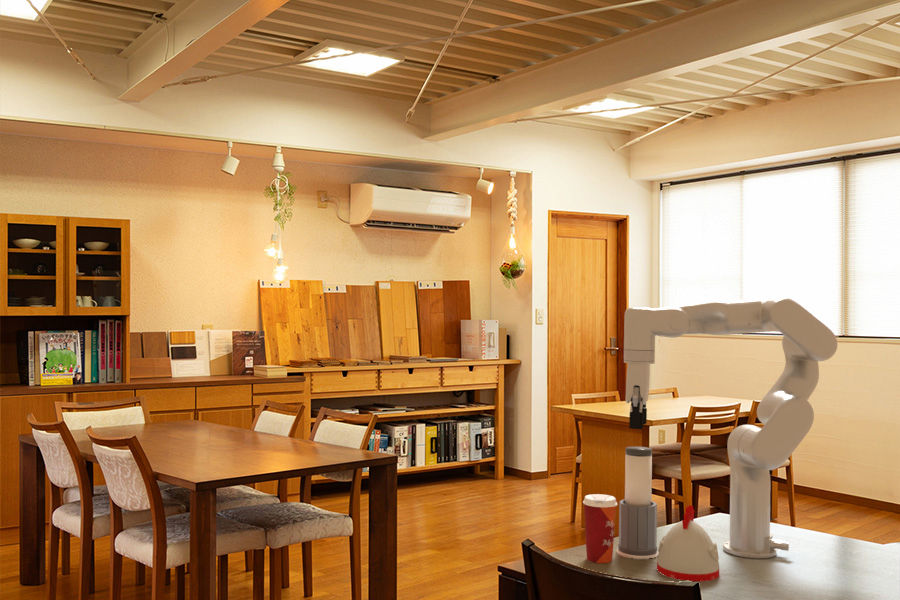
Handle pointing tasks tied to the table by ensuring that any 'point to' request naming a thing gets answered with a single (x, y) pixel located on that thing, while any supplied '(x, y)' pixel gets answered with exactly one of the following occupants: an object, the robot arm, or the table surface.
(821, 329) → the robot arm
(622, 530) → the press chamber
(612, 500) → the coffee cup
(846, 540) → the table surface
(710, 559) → the kitchen timer
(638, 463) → the plunger
